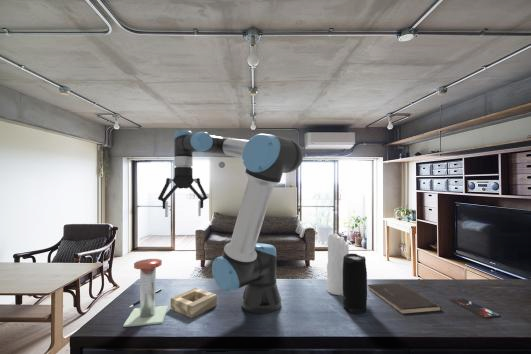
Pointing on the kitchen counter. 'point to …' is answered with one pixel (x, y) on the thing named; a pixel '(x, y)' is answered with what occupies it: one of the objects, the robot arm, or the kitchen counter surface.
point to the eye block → (193, 302)
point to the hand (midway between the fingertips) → (183, 216)
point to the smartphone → (474, 308)
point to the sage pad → (155, 319)
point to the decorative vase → (335, 263)
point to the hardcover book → (403, 298)
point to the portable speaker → (354, 283)
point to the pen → (139, 301)
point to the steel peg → (147, 285)
